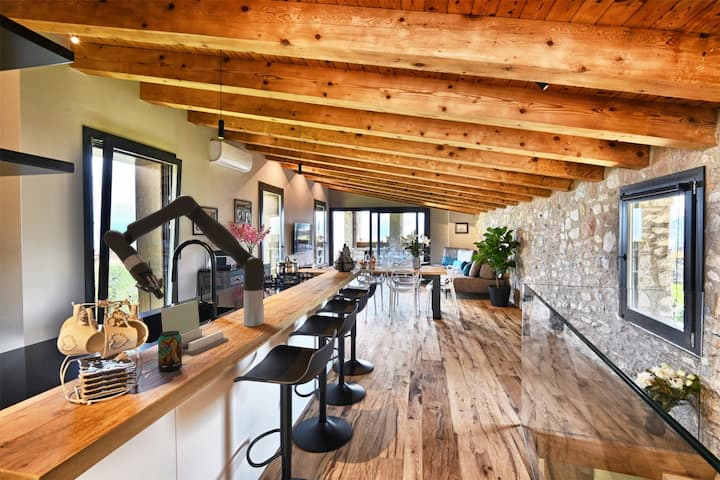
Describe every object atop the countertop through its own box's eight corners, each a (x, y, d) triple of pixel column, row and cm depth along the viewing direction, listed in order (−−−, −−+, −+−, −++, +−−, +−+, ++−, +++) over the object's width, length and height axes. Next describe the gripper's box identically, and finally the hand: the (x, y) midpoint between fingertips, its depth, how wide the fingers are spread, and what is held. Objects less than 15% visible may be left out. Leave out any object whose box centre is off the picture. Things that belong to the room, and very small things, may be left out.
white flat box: (196, 337, 164) (196, 327, 164) (228, 340, 159) (228, 330, 159) (159, 351, 144) (159, 340, 144) (194, 355, 140) (194, 344, 140)
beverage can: (166, 374, 121) (166, 337, 121) (153, 370, 125) (153, 333, 125) (186, 367, 127) (186, 332, 127) (173, 363, 131) (173, 329, 131)
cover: (199, 328, 163) (198, 328, 163) (197, 300, 163) (195, 300, 163) (165, 340, 144) (163, 340, 145) (162, 309, 144) (161, 309, 145)
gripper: (129, 262, 153) (153, 294, 149) (155, 260, 165) (178, 289, 162) (119, 275, 154) (143, 307, 151) (146, 272, 167) (168, 301, 164)
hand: (161, 297), depth 156 cm, fingers closed
